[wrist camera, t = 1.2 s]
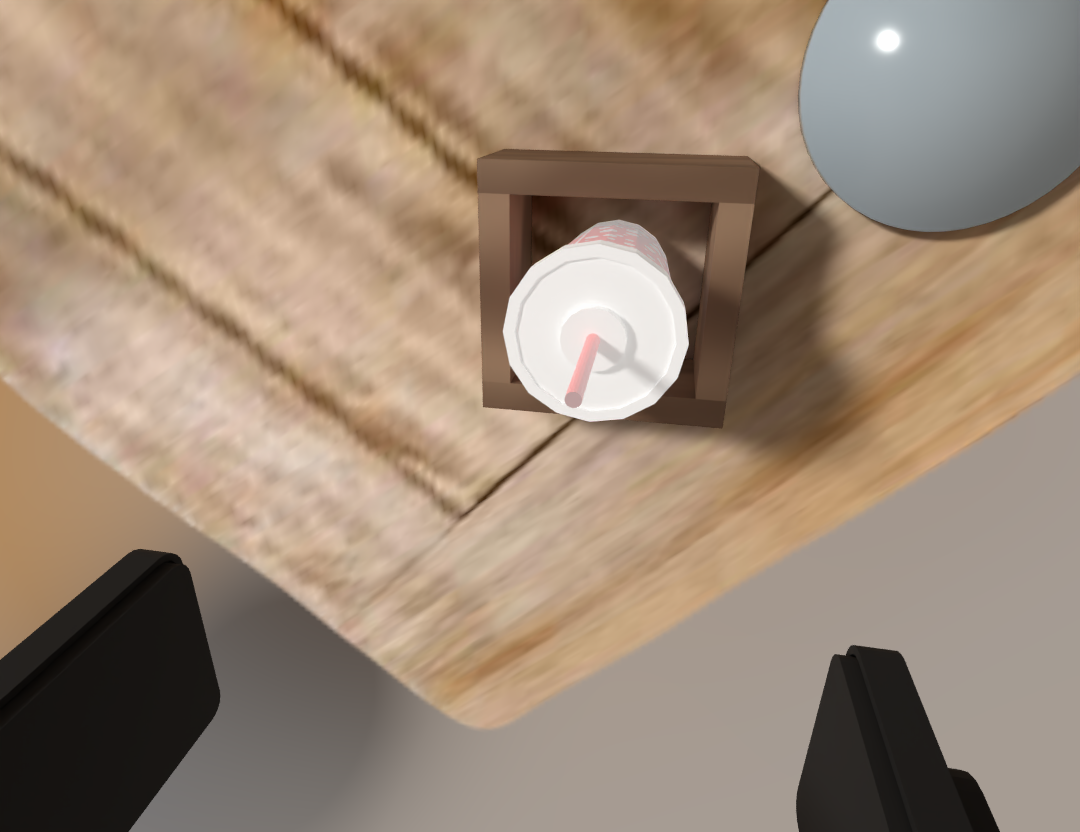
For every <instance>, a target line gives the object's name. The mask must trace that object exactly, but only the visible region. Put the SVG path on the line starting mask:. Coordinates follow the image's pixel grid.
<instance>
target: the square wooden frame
mask: <svg viewBox="0 0 1080 832" xmlns="http://www.w3.org/2000/svg"><path fill="white" fill-rule="evenodd" d="M759 170H760V168H759V167H758V166H757V165H756V164H755V163H754V162H753V161H752V160H751V159H750V158H749V157H748V156H719V155H685V154H652V153H618V152H585V151H551V150H518V149H503V150H501V151H498V152H495V153H492V154H489V155H486V156H483V157H481V158H478V159H477V177H478V218H479V260H480V301H481V342H482V384H483V407H488V408H499V409H511V410H522V411H533V412H544V413H555V414H559V413H556V412H555V411H553V410H552V409H550V408H549V407H548V406H546V405H545V404H543V403H542V402H541V401H539V400H538V399H536V398H535V397H534V396H532V395H531V394H529V393H528V391H527V390H526V388H525V387H524V385H523V384H522V382H521V381H520V379H519V378H518V376H517V375H516V373H515V372H514V370H513V369H512V367H511V366H510V364H509V359H508V354H507V349H506V345H505V340H504V335H503V328H504V323H505V318H506V313H507V307H508V302H509V298H510V296H511V295H512V293H513V292H514V290H515V289H516V288H517V286H518V285H519V283H520V282H521V280H522V279H523V278H524V276H525V275H526V273H527V272H528V270H529V269H530V268H531V249H532V195H541V196H566V197H591V198H616V199H641V200H665V201H690V202H712V204H711V212H710V221H709V229H708V238H707V246H706V255H705V263H704V272H703V280H702V289H701V297H700V306H699V314H698V323H697V331H696V340H695V348H694V357H693V360H692V359H684V361H683V364H682V367H681V369H680V372H679V375H678V378H677V379H676V381H675V382H674V383H673V384H672V385H671V386H670V387H669V388H668V389H667V391H666V392H665V393H664V394H663V395H662V396H661V397H660V398H659V399H658V401H657V402H656V403H655V404H653V405H651V406H649V407H647V408H645V409H643V410H641V411H639V412H637V413H635V414H633V415H631V416H629V417H626V418H624V419H622V420H634V421H645V422H656V423H667V424H678V425H690V426H701V427H712V428H722V427H723V420H724V413H725V407H726V400H727V393H728V386H729V379H730V372H731V365H732V358H733V351H734V344H735V337H736V330H737V323H738V316H739V309H740V302H741V295H742V288H743V281H744V275H745V268H746V261H747V254H748V247H749V240H750V233H751V226H752V219H753V212H754V205H755V198H756V191H757V184H758V177H759Z"/></svg>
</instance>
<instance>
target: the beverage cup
mask: <svg viewBox="0 0 1080 832" xmlns="http://www.w3.org/2000/svg"><path fill="white" fill-rule="evenodd" d="M503 335H504V340H505V345H506V349H507V354H508V359H509V364H510V366H511V367H512V369H513V370H514V372H515V373H516V375H517V376H518V378H519V379H520V381H521V382H522V384H523V385H524V387H525V388H526V390H527V391H528V393H529V394H531V395H532V396H534V397H535V398H536V399H538V400H539V401H541V402H542V403H543V404H545V405H546V406H548V407H549V408H550V409H552V410H553V411H555V412H556V413H559V414H563V415H566V416H570V417H574V418H577V419H581V420H585V421H588V422H593V421H604V420H616V419H624V418H626V417H629V416H631V415H633V414H635V413H637V412H639V411H641V410H643V409H645V408H647V407H649V406H651V405H653V404H655V403H656V402H657V401H658V399H659V398H660V397H661V396H662V395H663V394H664V393H665V392H666V391H667V389H668V388H669V387H670V386H671V385H672V384H673V383H674V382H675V381H676V379H677V378H678V375H679V372H680V369H681V367H682V364H683V361H684V358H685V355H686V352H687V349H688V346H689V342H688V331H687V321H686V311H685V306H684V302H683V300H682V298H681V296H680V294H679V293H678V291H677V289H676V287H675V286H674V284H673V282H672V280H671V277H670V272H669V268H668V263H667V259H666V255H665V253H664V251H663V250H662V248H661V246H660V244H659V243H658V241H657V239H656V237H654V236H653V235H652V234H650V233H649V232H648V231H647V230H645V229H644V228H643V227H641V226H640V225H638V224H634V223H630V222H626V221H622V220H614V221H607V222H601V223H597V224H596V225H594V226H592V227H591V228H589V229H587V230H586V231H584V232H583V233H581V234H580V235H579V236H577V237H576V238H575V239H574V240H573V241H572V242H571V243H569V244H568V245H565V246H563V247H561V248H560V249H558V250H556V251H555V252H553V253H551V254H550V255H548V256H547V257H545V258H543V259H542V260H540V261H538V262H537V263H535V264H534V265H533V266H532V267H531V268H530V269H529V270H528V272H527V273H526V275H525V276H524V278H523V279H522V280H521V282H520V283H519V285H518V286H517V288H516V289H515V290H514V292H513V293H512V295H511V296H510V298H509V302H508V307H507V313H506V318H505V323H504V328H503Z"/></svg>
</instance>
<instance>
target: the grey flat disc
mask: <svg viewBox="0 0 1080 832" xmlns="http://www.w3.org/2000/svg"><path fill="white" fill-rule="evenodd" d="M798 112H799V120H800V126H801V133H802V136H803V140H804V143H805V146H806V149H807V152H808V154H809V156H810V158H811V161H812V163H813V165H814V167H815V169H816V170H817V172H818V173H819V175H820V176H821V178H822V179H823V181H824V182H825V183H826V184H827V185H828V186H829V188H830V189H831V190H832V191H833V192H834V193H835V194H836V195H837V196H838V197H839V198H841V199H842V200H843V201H844V202H846V203H847V204H848V205H849V206H851V207H852V208H854V209H855V210H857V211H859V212H860V213H862V214H864V215H865V216H867V217H869V218H871V219H873V220H876V221H878V222H881V223H883V224H886V225H889V226H893V227H897V228H901V229H905V230H913V231H922V232H941V231H952V230H959V229H966V228H970V227H974V226H978V225H982V224H986V223H989V222H991V221H994V220H997V219H999V218H1002V217H1005V216H1007V215H1009V214H1011V213H1013V212H1015V211H1017V210H1019V209H1021V208H1023V207H1025V206H1028V205H1029V204H1031V203H1032V202H1034V201H1036V200H1037V199H1039V198H1040V197H1042V196H1043V195H1045V194H1047V193H1048V192H1049V191H1051V190H1052V189H1053V188H1055V187H1056V186H1057V185H1058V184H1060V183H1061V182H1062V181H1064V180H1065V179H1066V178H1067V177H1068V176H1069V175H1071V174H1072V173H1073V172H1074V171H1075V170H1076V169H1077V168H1078V167H1079V166H1080V0H827V2H826V4H825V5H824V7H823V9H822V11H821V13H820V15H819V17H818V19H817V21H816V23H815V25H814V28H813V30H812V32H811V35H810V38H809V41H808V44H807V47H806V50H805V53H804V58H803V62H802V67H801V71H800V79H799V89H798Z"/></svg>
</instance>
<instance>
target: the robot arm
mask: <svg viewBox="0 0 1080 832" xmlns="http://www.w3.org/2000/svg"><path fill="white" fill-rule="evenodd" d="M219 703H220V690H219V686H218V682H217V678H216V674H215V670H214V666H213V662H212V658H211V654H210V650H209V646H208V642H207V638H206V633H205V629H204V625H203V621H202V617H201V613H200V609H199V605H198V601H197V597H196V593H195V589H194V585H193V581H192V577H191V574H190V571H189V568H188V567H187V566H186V565H183V563H182V560H181V558H180V557H178V555H176V554H173V553H166V552H159V551H152V550H144V549H138V550H133V551H132V552H130V553H129V554H127V555H126V556H125V557H123V558H122V559H121V560H120V561H119V562H118V563H116V564H115V565H114V566H113V567H111V568H110V569H109V570H108V571H107V572H105V573H104V574H103V575H102V576H101V577H99V578H98V579H97V580H96V581H95V582H93V583H92V584H91V585H90V586H89V587H87V588H86V589H85V590H84V591H83V592H81V593H80V594H79V595H78V596H77V597H75V598H74V599H73V600H72V601H71V602H69V603H68V604H67V605H66V606H64V607H63V608H62V609H61V610H60V611H58V613H56V614H55V615H54V616H53V617H51V618H50V619H49V620H48V621H46V622H45V623H44V624H43V625H42V626H40V627H39V628H38V629H37V630H36V631H34V632H33V633H32V634H31V635H30V636H29V637H27V638H26V639H25V640H24V641H22V643H20V644H19V645H18V646H16V647H15V648H14V649H13V650H12V651H11V652H9V653H8V654H7V655H6V656H4V657H3V658H2V659H1V660H0V832H129V830H130V829H131V827H132V826H133V825H134V824H135V822H136V821H137V820H138V818H139V817H140V816H141V814H142V813H143V812H144V810H145V809H146V808H147V806H148V805H149V803H150V802H151V801H152V799H153V798H154V797H155V795H156V794H157V793H158V791H159V790H160V789H161V787H162V786H163V785H164V783H165V782H166V781H167V779H168V778H169V777H170V775H171V774H172V773H173V771H174V770H175V769H176V767H177V766H178V765H179V763H180V762H181V761H182V759H183V758H184V757H185V755H186V754H187V752H188V751H189V750H190V749H191V747H192V746H193V744H194V743H195V742H196V741H197V739H198V738H199V737H200V735H201V734H202V732H203V731H204V730H205V728H206V727H207V726H208V724H209V723H210V722H211V721H212V719H213V717H214V716H215V714H216V712H217V709H218V706H219ZM796 812H797V822H798V828H799V832H1000V831H999V829H998V826H997V824H996V822H995V820H994V817H993V815H992V813H991V811H990V808H989V806H988V804H987V801H986V799H985V797H984V794H983V792H982V791H981V789H980V787H979V785H978V783H977V782H976V780H975V779H974V778H973V777H972V776H971V775H970V774H969V773H968V772H966V771H962V770H957V769H951V768H948V767H947V765H946V762H945V760H944V757H943V755H942V752H941V750H940V747H939V745H938V742H937V740H936V737H935V735H934V732H933V730H932V727H931V725H930V723H929V720H928V717H927V715H926V712H925V710H924V707H923V705H922V702H921V700H920V697H919V695H918V692H917V690H916V687H915V685H914V682H913V680H912V678H911V675H910V672H909V670H908V667H907V665H906V662H905V660H904V658H903V657H902V655H901V654H900V653H899V652H898V651H892V650H886V649H877V648H870V647H863V646H856V645H853V646H850V647H849V649H848V651H847V654H846V656H845V655H837V654H835V655H834V656H833V657H832V660H831V663H830V667H829V671H828V674H827V678H826V683H825V686H824V690H823V694H822V698H821V701H820V705H819V709H818V713H817V717H816V721H815V725H814V728H813V732H812V736H811V740H810V744H809V748H808V751H807V755H806V759H805V763H804V767H803V771H802V775H801V779H800V782H799V786H798V791H797V800H796Z"/></svg>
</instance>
